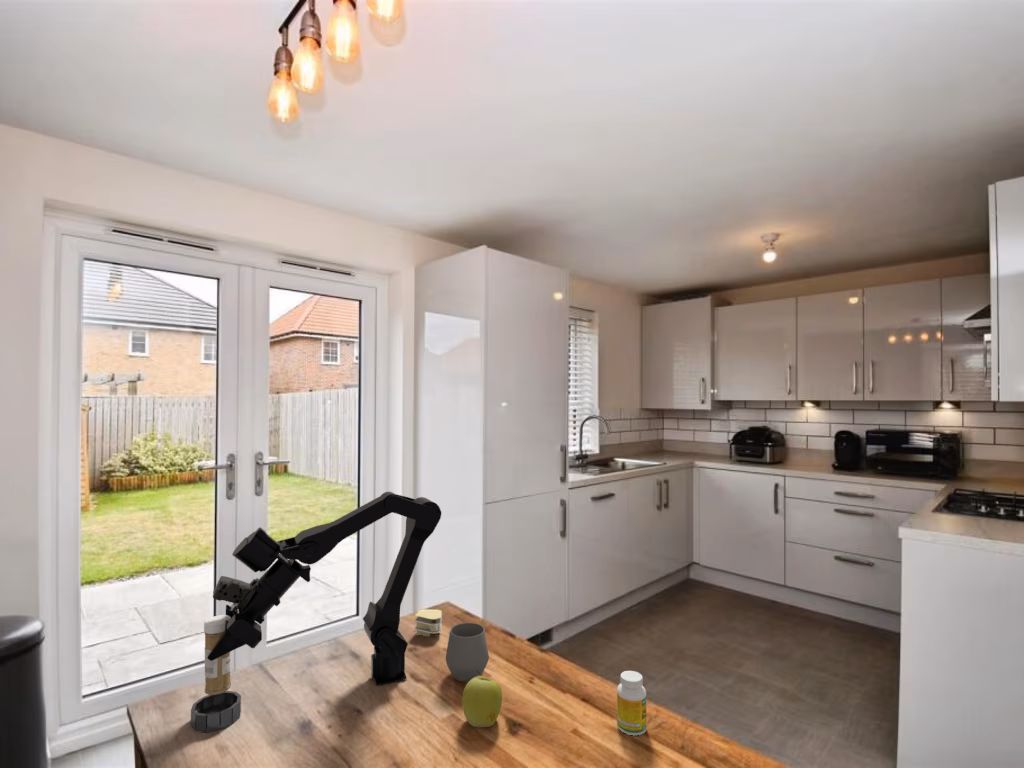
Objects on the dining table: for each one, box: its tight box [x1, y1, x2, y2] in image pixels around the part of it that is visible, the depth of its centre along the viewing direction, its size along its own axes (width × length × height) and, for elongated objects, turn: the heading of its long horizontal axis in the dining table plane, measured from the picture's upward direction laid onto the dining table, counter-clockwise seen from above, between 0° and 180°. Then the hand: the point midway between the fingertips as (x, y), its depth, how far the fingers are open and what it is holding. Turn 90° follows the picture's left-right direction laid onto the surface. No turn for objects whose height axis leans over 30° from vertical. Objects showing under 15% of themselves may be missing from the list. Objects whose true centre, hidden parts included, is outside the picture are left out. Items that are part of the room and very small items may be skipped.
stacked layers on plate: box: [414, 609, 443, 637], centre depth 140 cm, size 10×9×6 cm
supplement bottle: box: [616, 670, 647, 737], centre depth 100 cm, size 5×5×10 cm
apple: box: [461, 671, 503, 728], centre depth 103 cm, size 8×8×10 cm
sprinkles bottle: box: [203, 614, 232, 695], centre depth 104 cm, size 5×5×14 cm
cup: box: [445, 622, 490, 683], centre depth 119 cm, size 10×9×10 cm
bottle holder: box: [190, 690, 242, 734], centre depth 103 cm, size 8×8×3 cm
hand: (209, 653), depth 103 cm, fingers closed on sprinkles bottle, 4 cm apart
